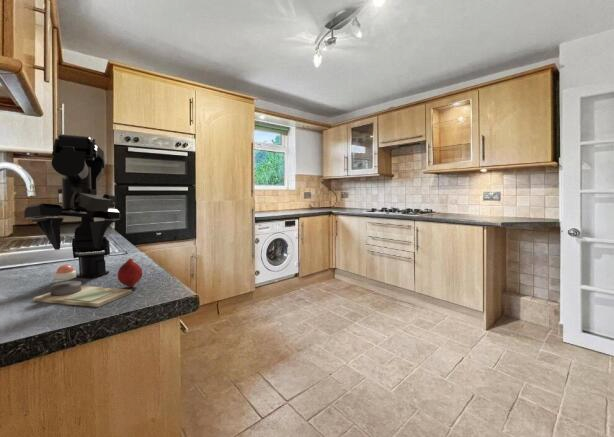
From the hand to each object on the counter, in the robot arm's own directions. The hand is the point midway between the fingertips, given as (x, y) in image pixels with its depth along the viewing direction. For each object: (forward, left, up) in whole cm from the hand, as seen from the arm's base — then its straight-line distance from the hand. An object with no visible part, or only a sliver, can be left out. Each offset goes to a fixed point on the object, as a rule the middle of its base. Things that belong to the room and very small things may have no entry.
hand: (78, 248), depth 71 cm
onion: (+5, +10, -12) cm, 17 cm away
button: (-5, +1, -8) cm, 9 cm away
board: (0, +1, -12) cm, 12 cm away
